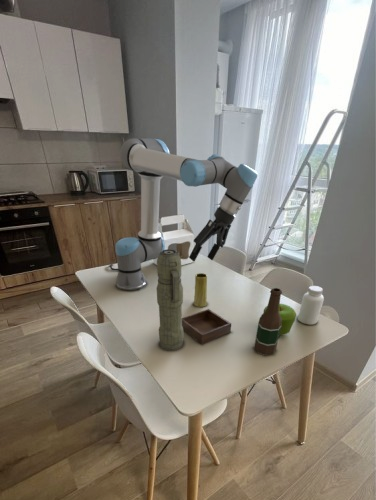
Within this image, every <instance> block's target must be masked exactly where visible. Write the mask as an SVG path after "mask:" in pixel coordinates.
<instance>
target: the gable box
mask: <svg viewBox="0 0 376 500" xmlns="http://www.w3.org/2000/svg"><path fill="white" fill-rule="evenodd" d="M158 221H159V222H158V232H159V233H160V234H161V237H162V238H163V240H164V241H163V242H164V243H165V250H168V249H169V246H170V245H173V244H176V251H177V252H178V253H179V256H180V259H181V266H184V265H187V264H193V263H194V261H192V260H191V259H190V258H189V256H190V254H191V252H192V250H193V248H194V246H195V242H194V239H195V233H194V232H193V230H192V227H191V226H190V224H189V219H188V218H186V217H185V214H184V213H183V214H174V215H167V216H162V217H160V218H159V219H158ZM175 224H181V229H175V230H169V231H163V227H164V226H169V225H175ZM157 259H158V258H156V259H152V263H153V264H154V265H156V266H157Z"/></svg>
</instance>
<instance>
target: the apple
mask: <svg viewBox="0 0 376 500" xmlns="http://www.w3.org/2000/svg"><path fill="white" fill-rule="evenodd" d="M267 306H268V304H267V305H266V306H265V307H264V308H263V313H264V312H265V311H266V309H267ZM263 313H262V314H263ZM279 313H280V315H281V318H282V325H281V329H280V334H279V336H282V335H287V334H289V333H290V332H291V329H292V327H293V325H294V323H295V322H296V321H295V320H296V319H297V313H296V310H295V309H294V308H293V307H291V306H290V305H288V304H285V303H280V304H279Z"/></svg>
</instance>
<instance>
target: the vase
mask: <svg viewBox="0 0 376 500" xmlns="http://www.w3.org/2000/svg"><path fill="white" fill-rule="evenodd" d="M194 277H195V278H194V282H195V283H194V295H193V297H194V299H193V305H194V307H197V308H202V307H204V308H205V307H206V306H207V305H208V303H207V302H208V301H207V295H208V294H207V292H208V274H207V273H201V272H200V273H196V274H195V275H194Z"/></svg>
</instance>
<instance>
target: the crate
mask: <svg viewBox="0 0 376 500" xmlns="http://www.w3.org/2000/svg"><path fill="white" fill-rule="evenodd" d="M182 327H183V332H185V333H186V334H188V335H189V336H190V337H192V338H193V339H194V340H195V341H197V342H198V343H199V344H201V345H204V344H206V343H209V342H211V341H213V340H216V339H218V338H221V337H223V336H226V335H227V334H230V333H232V332H231V331H232V323H231V322H230V321H228V320H227V319H225V318H224V317H222V316H220V315H219V314H218V313H216V312H214V311H213V310H211V309H209V308H207V309H203V310H200V311H198V312H196V313H195V312H194V313H192V314H190V315H187V316H186V315H185V316H183V317H182Z"/></svg>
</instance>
